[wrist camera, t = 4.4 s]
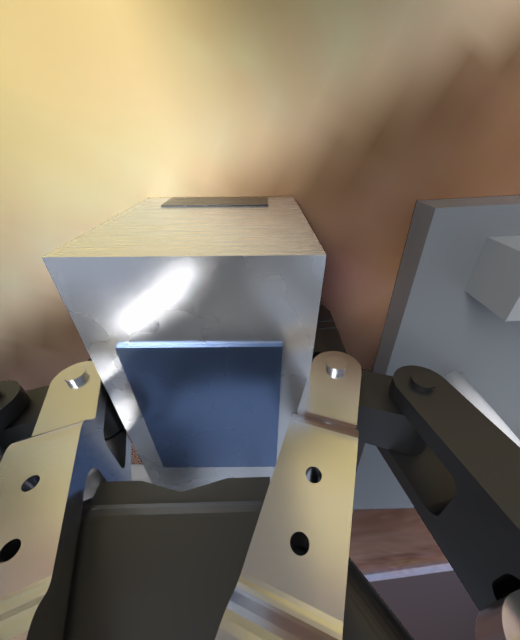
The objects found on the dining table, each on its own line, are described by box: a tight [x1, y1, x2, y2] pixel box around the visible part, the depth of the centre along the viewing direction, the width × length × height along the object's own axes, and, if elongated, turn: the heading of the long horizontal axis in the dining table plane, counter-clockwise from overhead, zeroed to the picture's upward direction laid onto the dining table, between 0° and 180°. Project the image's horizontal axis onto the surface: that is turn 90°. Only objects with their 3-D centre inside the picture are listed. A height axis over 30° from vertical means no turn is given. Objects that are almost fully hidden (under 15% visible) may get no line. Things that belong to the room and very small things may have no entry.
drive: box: [42, 197, 326, 491], centre depth 9 cm, size 9×5×6 cm, turn 0°
